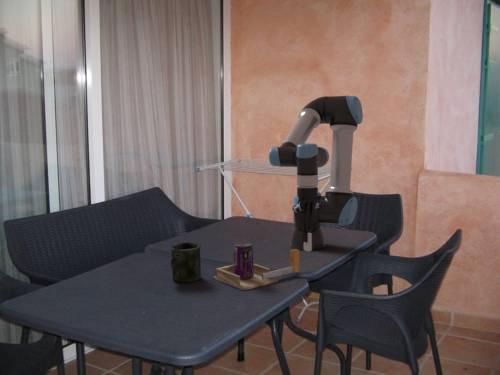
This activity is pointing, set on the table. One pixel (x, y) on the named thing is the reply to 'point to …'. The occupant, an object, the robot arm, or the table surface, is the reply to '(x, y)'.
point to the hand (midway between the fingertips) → (307, 250)
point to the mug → (186, 262)
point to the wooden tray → (234, 280)
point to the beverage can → (243, 260)
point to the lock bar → (294, 268)
